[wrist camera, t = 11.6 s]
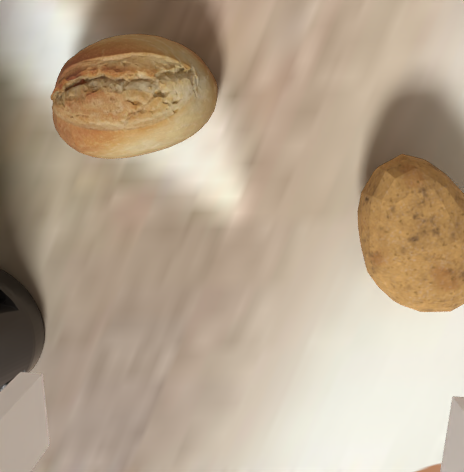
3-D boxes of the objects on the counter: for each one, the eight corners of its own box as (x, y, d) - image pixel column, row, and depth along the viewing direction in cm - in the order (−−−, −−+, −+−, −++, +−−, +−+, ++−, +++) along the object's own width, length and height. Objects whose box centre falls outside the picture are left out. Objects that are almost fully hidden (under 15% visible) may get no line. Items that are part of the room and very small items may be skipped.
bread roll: (51, 71, 39) (-1, 56, 31) (203, 25, 37) (188, -4, 30) (84, 171, 41) (43, 180, 33) (230, 132, 39) (223, 131, 32)
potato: (430, 134, 38) (473, 134, 30) (469, 271, 41) (518, 303, 33) (327, 173, 40) (344, 182, 32) (372, 303, 42) (397, 341, 35)
